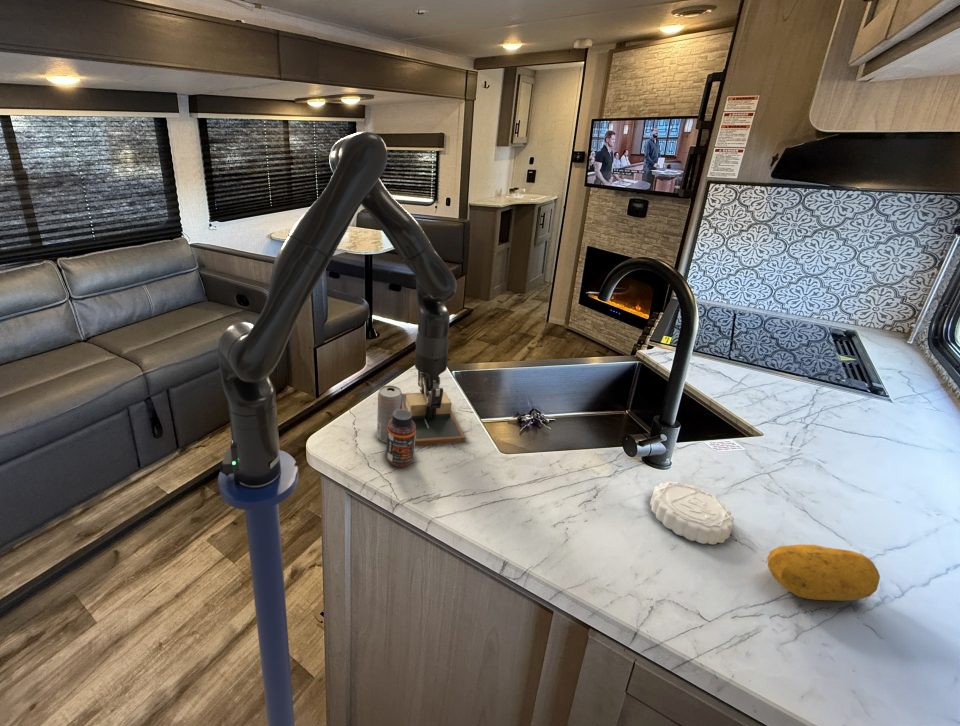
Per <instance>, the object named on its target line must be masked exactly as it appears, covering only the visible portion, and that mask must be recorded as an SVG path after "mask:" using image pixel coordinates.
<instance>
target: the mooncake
mask: <svg viewBox="0 0 960 726" xmlns="http://www.w3.org/2000/svg"><path fill="white" fill-rule="evenodd" d="M649 504H650V506H651V512H652V513H653V514H654V515H655V518H656V519H657V520H658V521H659V522H660V523H662V524H663V526H664V527H665V528H667V529H669V530H672V532H673V533H674V534H675V535H678V536H680V537H684V538H685V539H687V540H688V541H692V542H694V541H696V542H697V543H699V544H703V545H705V544H709V545H717V544H718V543H719V544H722V543H725V540H727V539H729V537H730V535H731V532H732V530H733V528H734V521H735V520H734V517H733V516H732V512H731V510H729V509H728V508H727V507H726V505H725V504H724V502H722V501H721V500H718V498H717V497H716V496H715V495H713V494H711V493H708V492H707V491H706V490H705V489H702V488H699V487H696V486H694V485H692V484H685V483H683V482H682V481H681V482H680V481H676V482H674V481H667V482H661V483H659V485H656V486H655V487H654V490H653V492H652V496H651V499H650V503H649Z"/></svg>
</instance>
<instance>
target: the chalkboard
mask: <svg viewBox="0 0 960 726" xmlns="http://www.w3.org/2000/svg"><path fill="white" fill-rule="evenodd" d="M430 393H431V392H430ZM407 394H421V392H409V393H402V409H405V410H406V395H407ZM412 421H413V422H414V423H415V426H416V433H415V447H416V446H427V445H428V446H429V445H441V444H443V445H444V444H456V443H466V442H467V437H466V435H465V433H464V431H463V430H462V428H461V426H460V424H459V422H458V420H457V419H456V417H455V415H454V413H453V411H452V410H451V415H450V417H442V418H435V419H431V420H428V419H414V420H412Z"/></svg>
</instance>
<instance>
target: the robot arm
mask: <svg viewBox="0 0 960 726" xmlns="http://www.w3.org/2000/svg"><path fill="white" fill-rule="evenodd" d="M328 158H329V159H328V160H329V167H330V170H331V171H332V175H331V177H330V180H329V181H328V184H327V185H326V186H325V188H324V190H323V191H322V193H321V194H320V196H319V197H318V198H317V199H316V200H315V201H314V202H313V203H312V204H311V206H310V207H308V208H307V210H306V211H305V212H304V213H303V214H302V216H301V217H299V219H298V220H297V222H296V223H295V224H294V225H293V226H292V228H291V230H290V231H289V233H288V234H287V236H286V238H285V240H284V242H283V243H282V245H281V247H280V248H279V251H278V252H277V255H276V257H275V259H274V261H273V266H272V270H271V275H270V280H269V281H270V283H269V288H268V293H267V297H266V301H265V304H264V306H263V308H262V310H261V312H260V314H259V316H258V318H257V319H256V320H255V323H254V324H253V323H250V322H236V323H233V324H232V325H230V326H228V327H227V328H226V329H225V330H224V332H223V333H222V334H221V336H220V338H219V341H218V346H217V353H218V354H217V355H218V363H219V364H218V365H219V371H220V377H221V384H222V389H223V392H224V395H225V397H226V401H227V408H228V417H229V424H230V433H231V442H230V446H229V447H230V448H229V449H225V452H224V456H223V460H222V461H221V462H220V464H219V466H218V470H219V471H221V472H222V473H223V474H225V475H226V476H228V475H229V474H232V473H233V475H234V484H235V485H241V486H243V487H245V488H249V489H259V488H264V487H267V486H269V485H271V484H272V483H274V482H275V481H276V480H277V479H278V478H279V476H280V474H281V462H280V451H279V450H280V437H279V423H278V409H277V396H276V395H277V394H276V388H275V386H274V384H273V382H272V379H271V378H270V375H271V374H272V373H273V372H274V370H275V369H276V368H277V366H278V364H279V362H280V360H281V358H282V356H283V354H284V351H285V349H286V347H287V344H288V343H289V339H290V337H291V335H292V332H293V331H294V328H295V326H296V324H297V322H298V319H299V318H300V316H301V314H302V312H303V311H304V309H305V307H306V305H307V303H308V301H309V299H310V297H311V295H312V294H313V292H314V290H315V288H316V286H317V285H318V284H319V282H320V280H321V278H322V276H323V275H324V274H325V271H326V269H327V268H328V266H329V264H330V262H331V260H332V258H333V256H334V255H335V253H336V251H337V249H338V247H339V245H340V243H341V241H342V239H343V238H344V236H345V234H346V232H347V230H348V229H349V227H350V225H351V222H352V221H353V219H354V217H355V215H356V213H357V212H358V210H359V208H360V207H361V206H362V207H363V209H365V211H366V212H367V213H368V214H369V215H370V217H371V218H372V219H373V221H374V222H375V223H376V225H377V226H378V227H379V228H380V230H381V231H382V233H383V234H384V235H385V237H386V238H387V240H388V242H389V243H390V244H391V246H392V247H393V249H394V251H395V252H396V253H397V255H398V256H399V258H400V259H401V261H402V262H403V263H404V265H405V266H406V267H407V268H409V270H410V271H411V272H412V273H413V274H414V276H415V277H416V285H415V289H416V300H417V308H418V319H417V321H418V322H417V333H416V339H415V351H414V352H415V353H414V354H415V355H414V367H415V369H416V370H417V385H418V387H419V393H421V394H422V393H424V395H425V396H426V398H427V408H426V418H427V419H428V420H431V419H435V418H436V408H440V407H441V401H442V396H443V392H444V388H443V387H440V385H441V377H440V375H441V374H442V373H444V372H445V371H447V369H448V360H449V359H448V357H449V346H450V340H449V339H450V338H449V336H450V335H449V332H450V320H451V319H450V318H451V316H450V312H449V310H448V308H447V305H446V302H448V301H450V300H451V299H453V298H454V296H455V295H456V292H457V290H458V289H457V288H458V282H457V279H456V277H455V275H454V273H453V272H452V270H451V269H450V268H449V266H448V265H447V263H446V262H444V260H443V258H441V256H440V255H439V254H438V253H437V251H436V250H435V248H434V247H433V245H432V243H431V240H430V239H429V238H428V236H427V234H426V233H425V232H424V230H423V228H422V226H421V225H420V224H419V222H418V221H417V220H416V219H415V217H414V216H413V215H412V214H411V213H410V212H409V211H408V210H407V209H406V208H405V207H404V206H402V204H401V203H400V202H399V201H397V199H396V198H395V197H394V196H393V195H392V194H391V193H390V191H389V190H388V189H387V188H386V186H385V185H384V183H383V182H382V180H381V177H382V175H383V174H384V172H385V170H386V167H387V163H388V148H387V145H386V143H385V140H383V138H382V137H381V136H380V135H378V134H377V133H376V132H375V133H374V132H371V131H359V132H355V133H353V134H350V135H347V136H345V137H343V138H340V139H339V140H337V141H336V142H335V143H334V144H333V145H332V147H331V149H330V151H329V157H328ZM430 392H431V393H430Z"/></svg>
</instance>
